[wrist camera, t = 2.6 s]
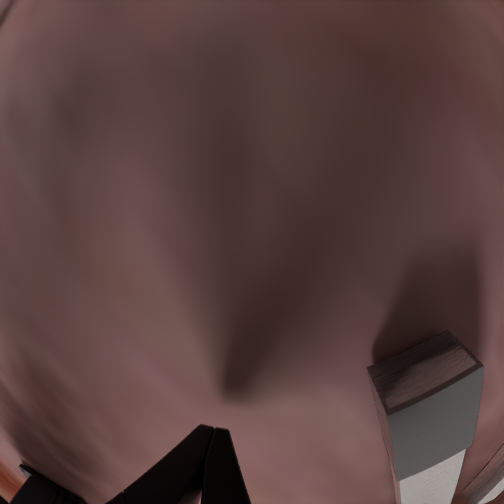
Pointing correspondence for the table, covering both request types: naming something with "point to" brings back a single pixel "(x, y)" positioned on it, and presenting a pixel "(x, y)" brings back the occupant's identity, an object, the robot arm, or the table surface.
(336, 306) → the table surface
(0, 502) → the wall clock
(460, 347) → the tong arm
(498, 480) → the base
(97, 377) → the table surface
